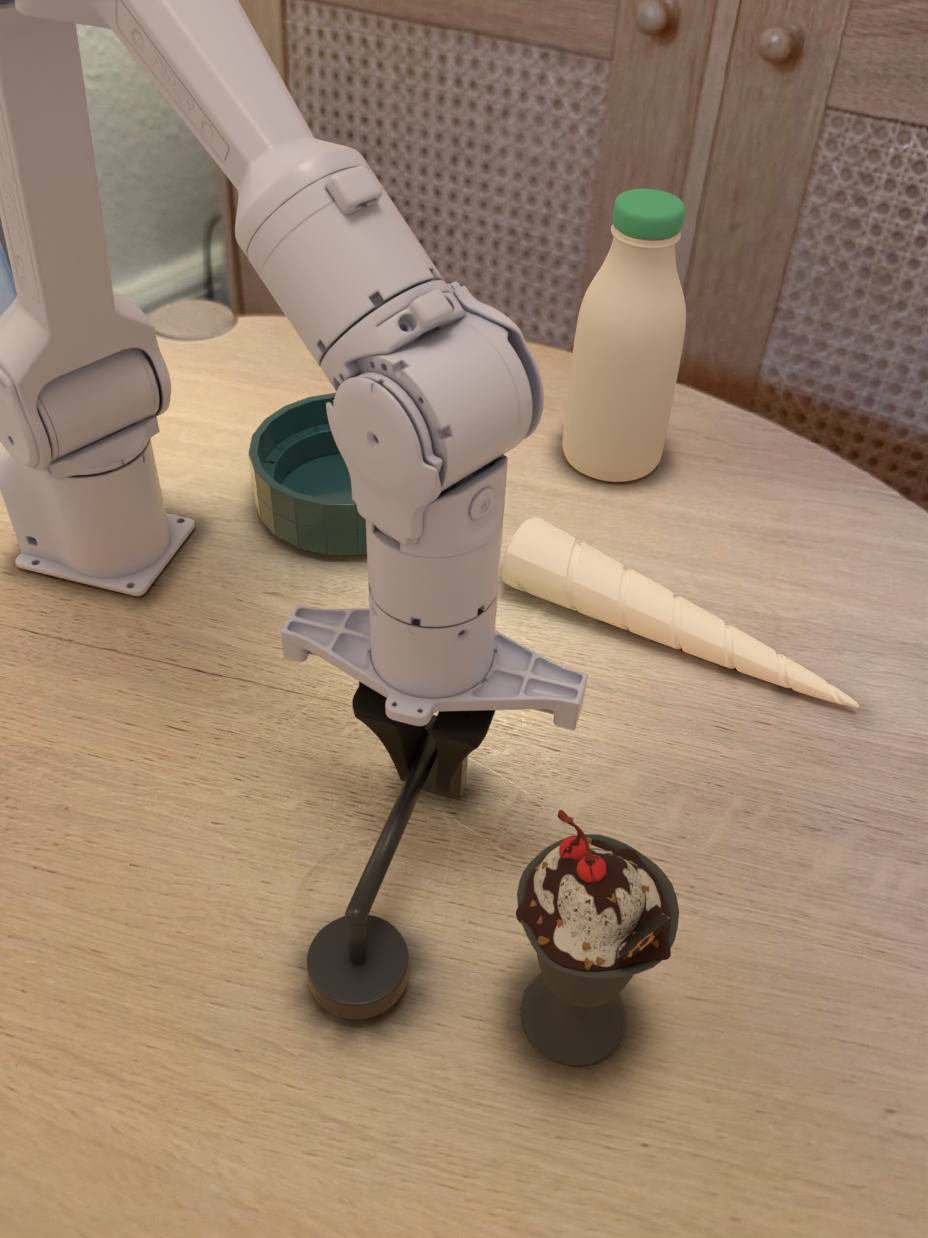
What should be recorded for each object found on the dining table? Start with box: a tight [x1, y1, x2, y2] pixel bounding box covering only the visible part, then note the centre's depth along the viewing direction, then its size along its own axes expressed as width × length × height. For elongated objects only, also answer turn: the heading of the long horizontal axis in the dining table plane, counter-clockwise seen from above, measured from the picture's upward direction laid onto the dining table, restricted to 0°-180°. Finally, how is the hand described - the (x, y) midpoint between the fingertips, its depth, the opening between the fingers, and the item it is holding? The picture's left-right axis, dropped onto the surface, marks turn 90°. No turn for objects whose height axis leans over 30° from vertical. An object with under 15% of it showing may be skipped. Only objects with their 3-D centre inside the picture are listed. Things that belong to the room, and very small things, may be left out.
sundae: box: [515, 809, 680, 1066], centre depth 46 cm, size 7×7×15 cm
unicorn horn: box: [500, 516, 861, 708], centre depth 67 cm, size 5×24×5 cm, turn 57°
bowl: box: [248, 392, 367, 556], centre depth 77 cm, size 13×13×5 cm
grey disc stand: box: [306, 714, 469, 1020], centre depth 54 cm, size 15×5×6 cm, turn 163°
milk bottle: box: [561, 188, 687, 483], centre depth 77 cm, size 8×8×20 cm
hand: (430, 772), depth 57 cm, fingers closed
